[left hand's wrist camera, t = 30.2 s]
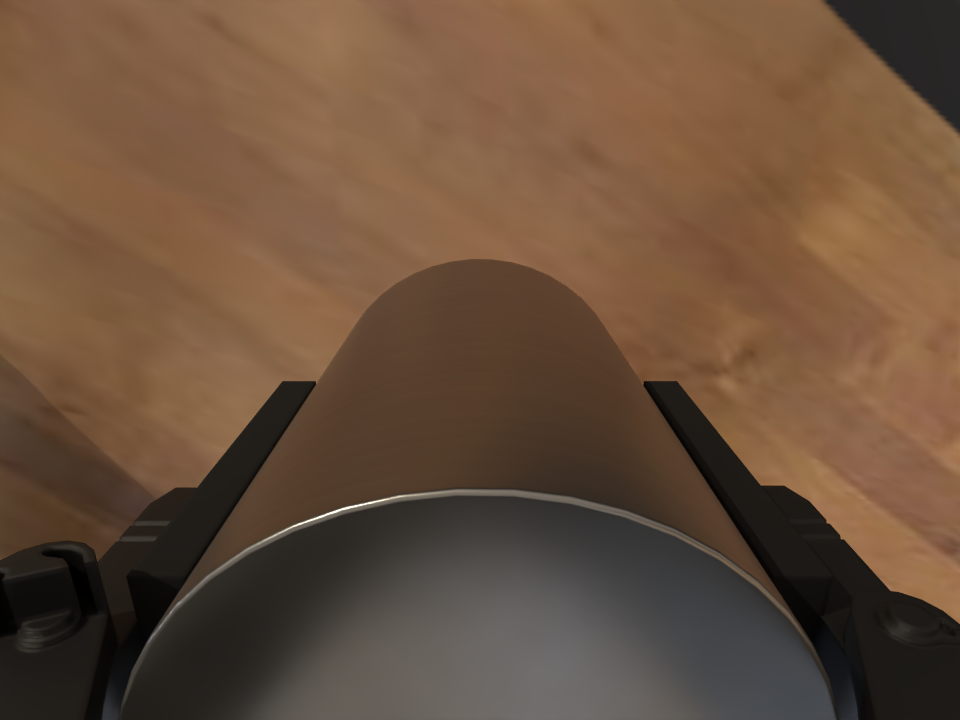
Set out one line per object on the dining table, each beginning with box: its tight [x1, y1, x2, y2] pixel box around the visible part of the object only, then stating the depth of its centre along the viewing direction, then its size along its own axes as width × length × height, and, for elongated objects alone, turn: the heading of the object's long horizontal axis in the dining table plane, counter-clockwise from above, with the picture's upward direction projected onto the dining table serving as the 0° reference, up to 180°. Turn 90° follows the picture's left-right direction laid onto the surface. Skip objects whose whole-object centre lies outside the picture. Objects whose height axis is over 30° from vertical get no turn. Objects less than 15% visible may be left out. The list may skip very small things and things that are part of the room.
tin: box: [120, 259, 839, 720], centre depth 11 cm, size 8×8×10 cm
